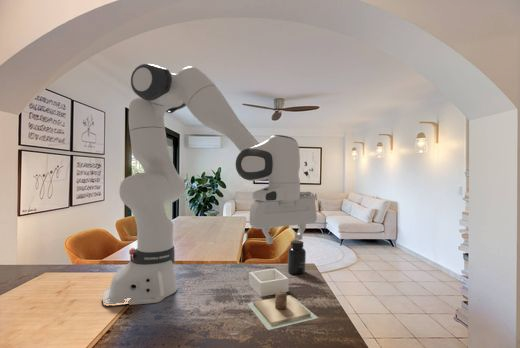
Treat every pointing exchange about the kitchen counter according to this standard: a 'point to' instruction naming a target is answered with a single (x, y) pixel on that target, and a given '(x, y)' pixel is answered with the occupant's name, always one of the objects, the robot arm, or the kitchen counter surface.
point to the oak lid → (281, 309)
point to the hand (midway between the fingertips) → (284, 241)
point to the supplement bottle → (296, 258)
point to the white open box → (268, 282)
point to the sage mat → (280, 323)
